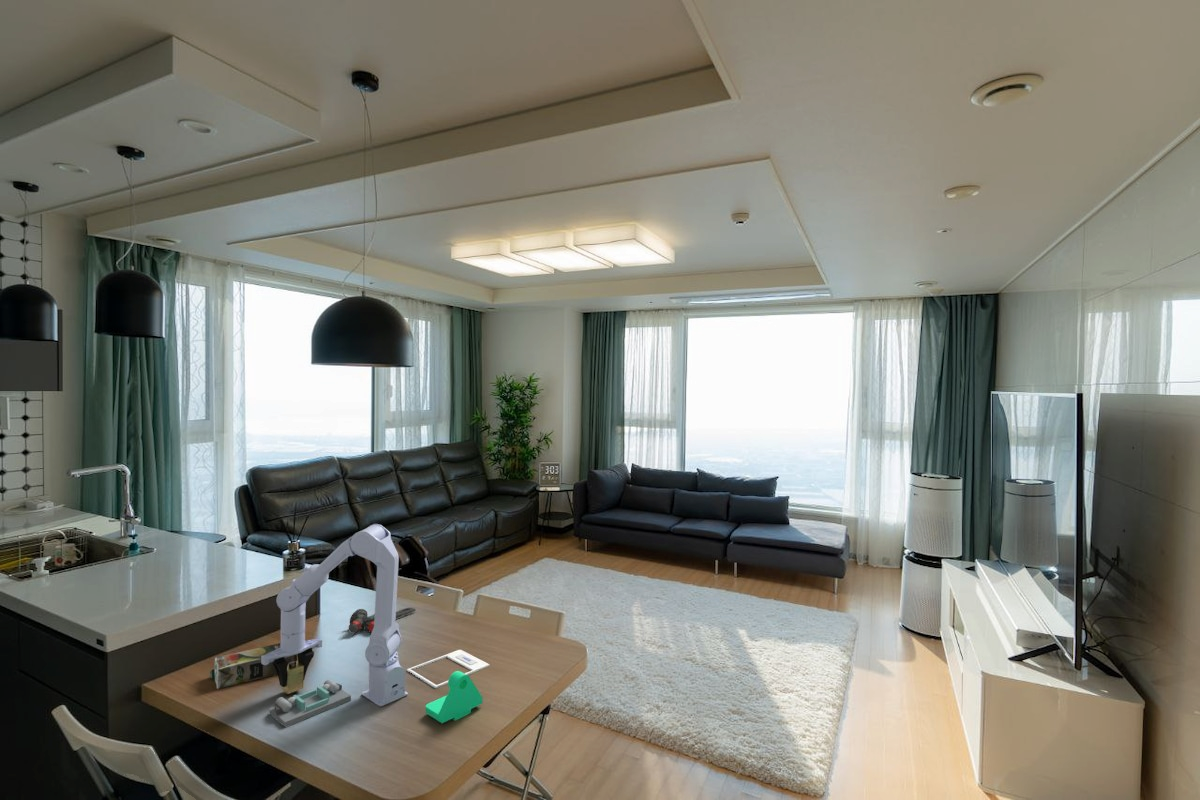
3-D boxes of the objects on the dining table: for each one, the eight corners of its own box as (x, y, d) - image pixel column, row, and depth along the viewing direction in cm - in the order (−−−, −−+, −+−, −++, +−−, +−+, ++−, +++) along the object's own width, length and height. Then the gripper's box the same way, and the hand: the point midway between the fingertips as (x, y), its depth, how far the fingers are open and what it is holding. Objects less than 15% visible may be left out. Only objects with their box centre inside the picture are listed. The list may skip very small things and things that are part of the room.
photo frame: (489, 663, 167) (435, 686, 153) (489, 667, 167) (435, 690, 153) (460, 648, 176) (407, 668, 163) (460, 652, 176) (407, 672, 163)
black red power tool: (366, 649, 181) (338, 632, 188) (429, 626, 203) (402, 611, 211) (369, 630, 180) (341, 613, 188) (432, 609, 202) (404, 595, 210)
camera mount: (464, 697, 149) (464, 658, 149) (482, 707, 144) (483, 667, 144) (423, 716, 140) (424, 674, 140) (441, 728, 135) (442, 684, 135)
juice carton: (212, 691, 150) (213, 668, 150) (209, 677, 158) (210, 655, 158) (297, 671, 162) (297, 649, 162) (290, 659, 170) (291, 638, 170)
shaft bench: (350, 700, 146) (351, 686, 146) (285, 727, 134) (285, 712, 134) (333, 688, 152) (334, 675, 152) (269, 713, 140) (269, 699, 140)
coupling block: (303, 688, 150) (303, 662, 150) (287, 694, 147) (287, 667, 147) (296, 683, 153) (296, 658, 153) (280, 689, 150) (281, 663, 150)
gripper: (314, 619, 158) (313, 667, 158) (256, 635, 147) (256, 687, 147) (326, 625, 154) (325, 675, 154) (268, 642, 142) (267, 697, 142)
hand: (292, 682), depth 150 cm, fingers closed on coupling block, 4 cm apart
